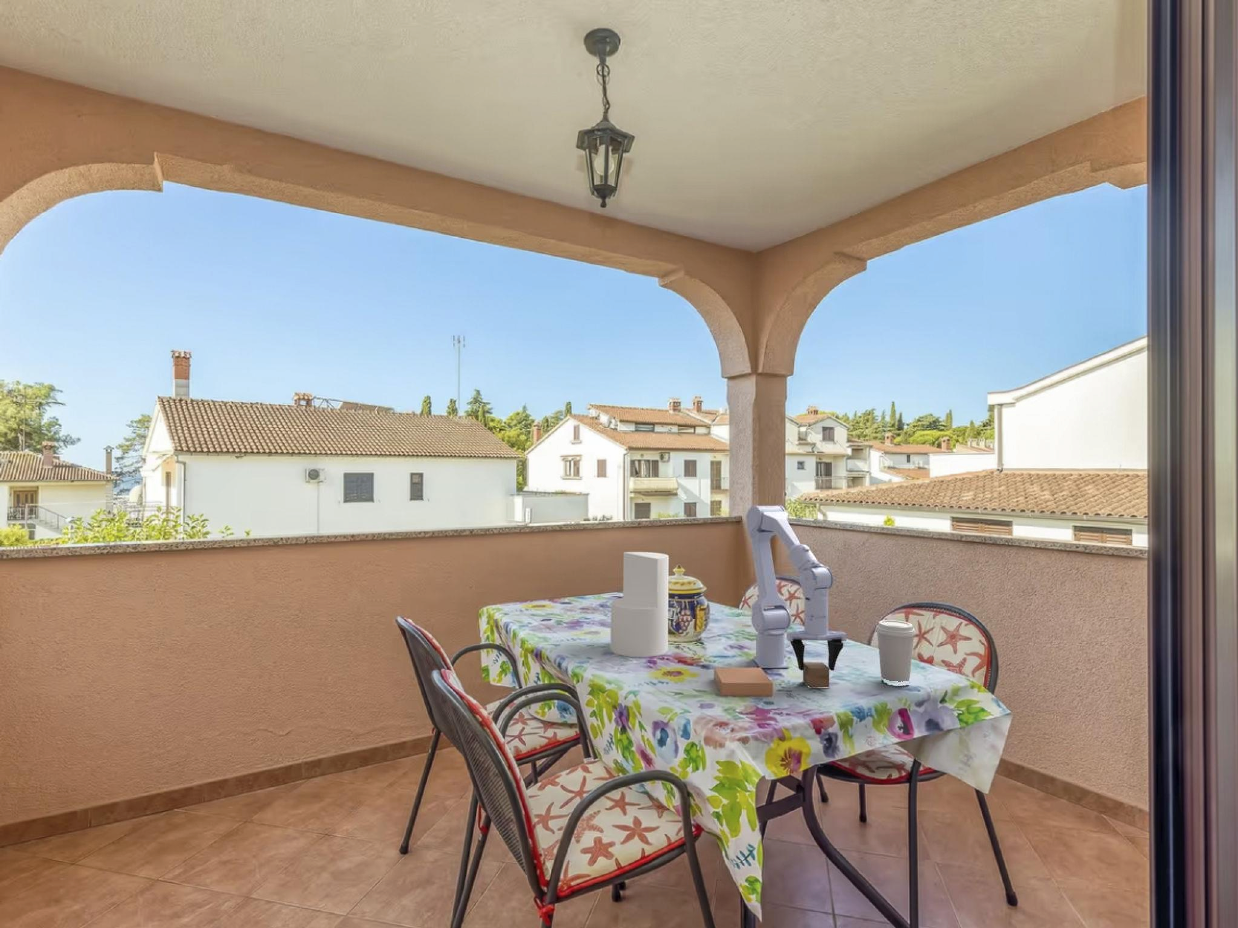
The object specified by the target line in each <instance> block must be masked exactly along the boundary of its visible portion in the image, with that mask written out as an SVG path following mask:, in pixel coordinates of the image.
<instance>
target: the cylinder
mask: <svg viewBox="0 0 1238 928" xmlns="http://www.w3.org/2000/svg"><path fill="white" fill-rule="evenodd" d="M669 557H670V556H669V555H668V554H665V553H660V552H650V551H648V552H647V551H625V552H623V564H622V565H623V568H622V569H623V577H622V578H623V579H622V581H623V583H622V584H623V586H622V590H623V591H622V594H623V595H622V597H621V598H615V599H613V600H611V601H610V647H609V649H610V651H611V652H613V653H614V654H616V655H620V656H623V657H630V658H631V657H632V658H650V657H651V658H652V657H658V656H660V655H661V656H662V655H664V654H666V653H668V651H669V565H670V564H669V561H670V560H669V559H670V558H669Z"/></svg>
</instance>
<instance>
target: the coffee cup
mask: <svg viewBox="0 0 1238 928" xmlns="http://www.w3.org/2000/svg"><path fill="white" fill-rule="evenodd" d="M877 623H878V624H877V625H876V627H875V629H874V631H875V632H877V642H878V643H877V645H878V654H879V655H878V657H879V668H880V678H881V677H882V678H883V679H886V680H889V681H898V682H901V681H902V682H903V681H909V679H911V668H912V659H913V658H912V657H913V649H914V648H913V647H914V638H915V636H916V635H917V633H916V629H915V628H914V626H913V624H912V623H910V622H907V621H902V620H895V619H894V620H893V619H884V620H880V621H878V622H877ZM909 682H910V681H909Z"/></svg>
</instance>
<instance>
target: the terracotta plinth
mask: <svg viewBox="0 0 1238 928" xmlns="http://www.w3.org/2000/svg"><path fill="white" fill-rule="evenodd" d="M713 668H714V669H713V671H714V672H713V676H714V677H713V679H714V682H715V684H716V685H717V688H718V690H719V692H720V694H721V696H732V697H733V696H748V697H749V696H752V697H753V696H755V697H759V696H761V697H763V696H765V697H767V696H770V697H772V696H773V691H774V689H773V687H774V686H773V682H772V680H771V679H770V677H768V675H767V674H766V673H765V671H764V670H763V668H760V667H717V666H716V667H713Z"/></svg>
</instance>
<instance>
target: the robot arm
mask: <svg viewBox="0 0 1238 928" xmlns="http://www.w3.org/2000/svg"><path fill="white" fill-rule="evenodd" d="M745 519H746V526H747V533H748V537H749V538H750V539H749V540H750V546H751V553H752V559H753V567H754V572H755V577H756V578H755V579H756V585H757V592H758V598H757V599H756V600H755V601H754V602H753V603H752V605H751V624H752V627H753V628H754V630H755V632H756V633H757V634H756V637H755V640H756V641H755V642H756V643H755V645H756V646H755V656H752V659H753V660H754V662H755V663H756V664H757V666H758V668H761V669H789V668H790V666H789V665H788V664H787V662H786V661H785V654H786V653H785V650H786V649H785V646H786V645H785V644H786V643H785V641H786V640H787V641H788V642H790V645H791V646H792V649H793V652H794V654H795V657H796V662H797V665H798V667H797V668H798V669H799V671H803V670H804V662H805V661H804V660H805V659H804V657H805V656H804V655H805V647H806V645H805V644H804V642H803V641H822V642H823V641H824V642H825V641H827V649H828V651H827V652H828V662H827V665H828V666H827V667H828V668H829V671H835V667H836V664H837V660H838V657H839V655H840V653H841V652H842V650H843V648H844V642H847V633H845V632H844V631H835V630H829V590H830V589H831V588H832V587H833V585H834V575H833V572H832V571H831V569H830V568H829V567H828V566H826V565H823V563H820V562H819V561H818V559H817V558H816V557H815V555H814V554H813V552H812V551H811V548H810V547H809V546H808V545H807V544H805V543H804V544H801V543H800V540H799V539H798V537H797V535H796V534H795V532H794V530H793V529H792V527H791V525H790V523H789V513H788V512H787V511H786V509H785V507H784V506H783V505H781V504H776V505H757V504H756V505H751V506H750V507H749V509H748V511H747V512H746V514H745ZM775 535H776V536H777V537H778V538H779V540H780V541H781V542H782V544H783V545H784V546H785V548H787V550H788V554H787V557H788V558H789V560H790V563H791V564H792V565H793V567H794V568H795V569H796V571H797V573H798V574H799V576H800V577H798V580H799V584H800V586H801V589H802V590H801V591H802V593H801V594H802V596H803V597H804V621H803V623H804V626H803V627H804V628H803V629H802V630H794V631H793V630H792V631H788V629H789V628H790V627H791V625H792V615H791V613H790V611H789V609H788V603H787V601H785V600H784V599H783V598H782V597H781V596H780V595H779V592H778V591H779V590H778V586H777V585H778V584H777V578H776V573H775V567H774V561H773V559H774V558H773V554H772V547H771V539H772V537H773V536H775ZM768 607H769V608H768ZM770 607H771V608H770ZM785 634H786V637H785ZM785 638H786V640H785Z"/></svg>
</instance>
